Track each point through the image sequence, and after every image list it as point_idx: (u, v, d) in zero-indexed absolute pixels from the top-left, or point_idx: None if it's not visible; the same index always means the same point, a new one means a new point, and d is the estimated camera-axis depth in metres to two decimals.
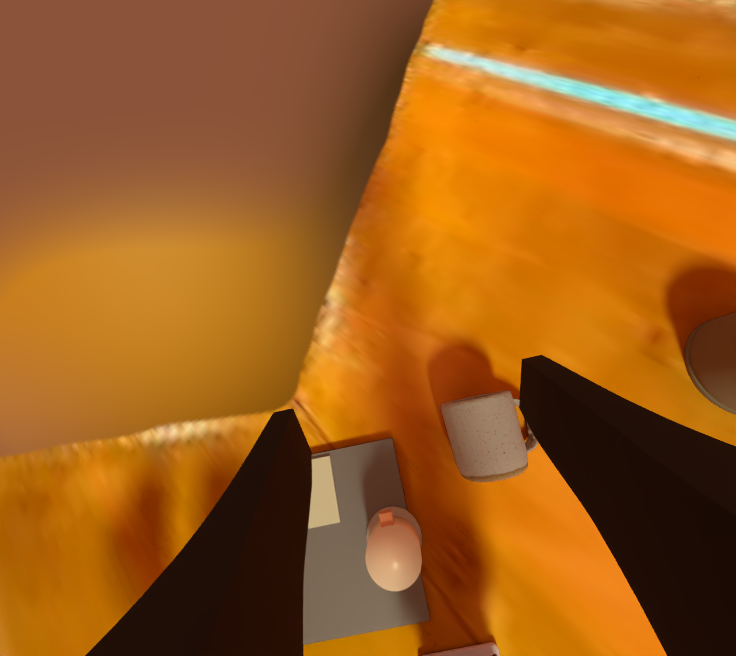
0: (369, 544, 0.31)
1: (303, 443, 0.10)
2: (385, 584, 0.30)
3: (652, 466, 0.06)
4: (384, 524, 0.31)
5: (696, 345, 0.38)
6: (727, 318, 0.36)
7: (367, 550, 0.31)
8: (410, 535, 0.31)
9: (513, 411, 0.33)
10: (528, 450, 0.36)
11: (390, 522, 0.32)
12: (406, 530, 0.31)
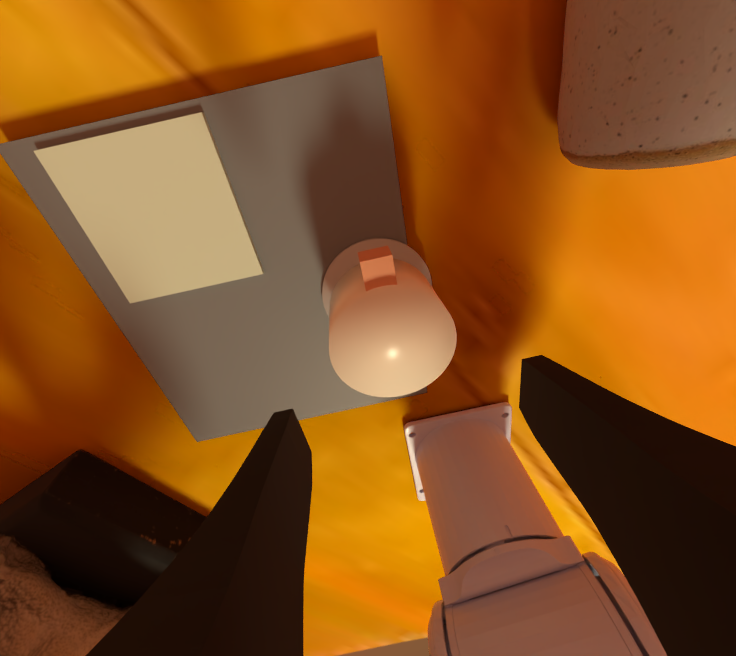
0: (337, 327, 0.13)
1: (303, 443, 0.10)
2: (374, 389, 0.14)
3: (653, 466, 0.06)
4: (373, 283, 0.12)
5: None
6: None
7: (333, 339, 0.13)
8: (438, 304, 0.13)
9: None
10: None
11: (390, 278, 0.12)
12: (428, 294, 0.12)
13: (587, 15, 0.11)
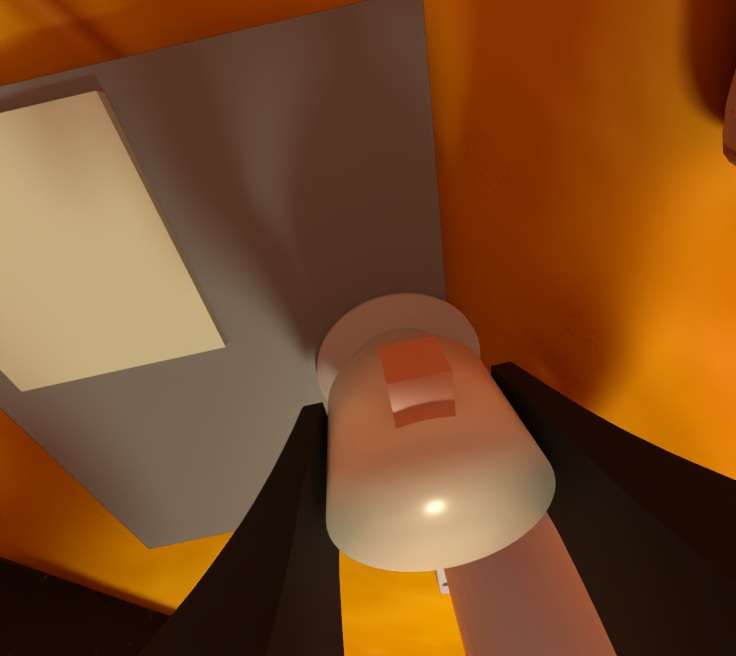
0: (342, 493, 0.07)
1: None
2: (403, 564, 0.08)
3: (601, 477, 0.06)
4: (411, 417, 0.06)
5: None
6: None
7: (333, 508, 0.07)
8: (531, 450, 0.07)
9: None
10: None
11: (443, 406, 0.06)
12: (513, 431, 0.07)
13: None
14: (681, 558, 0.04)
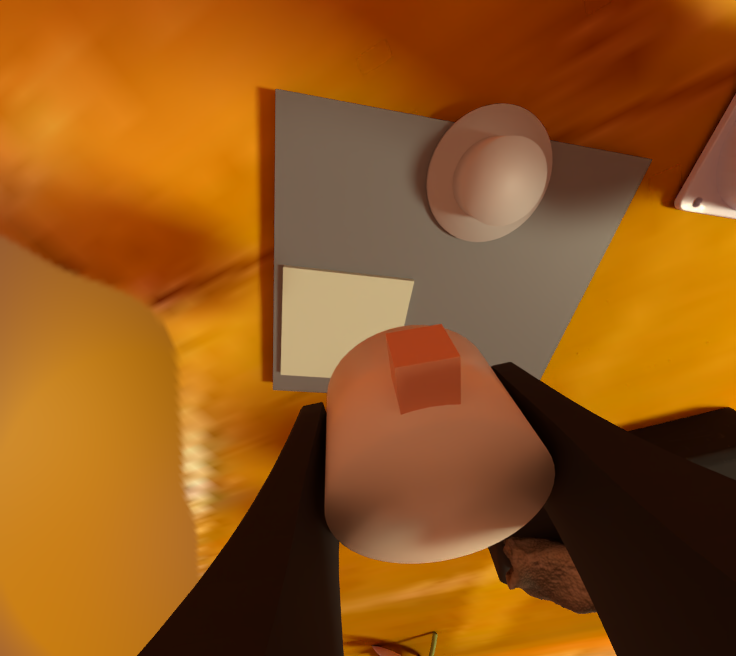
0: (343, 478, 0.07)
1: None
2: (398, 555, 0.08)
3: (600, 476, 0.06)
4: (416, 403, 0.06)
5: None
6: None
7: (333, 493, 0.07)
8: (534, 442, 0.07)
9: None
10: None
11: (449, 394, 0.06)
12: (516, 422, 0.07)
13: None
14: (681, 558, 0.04)
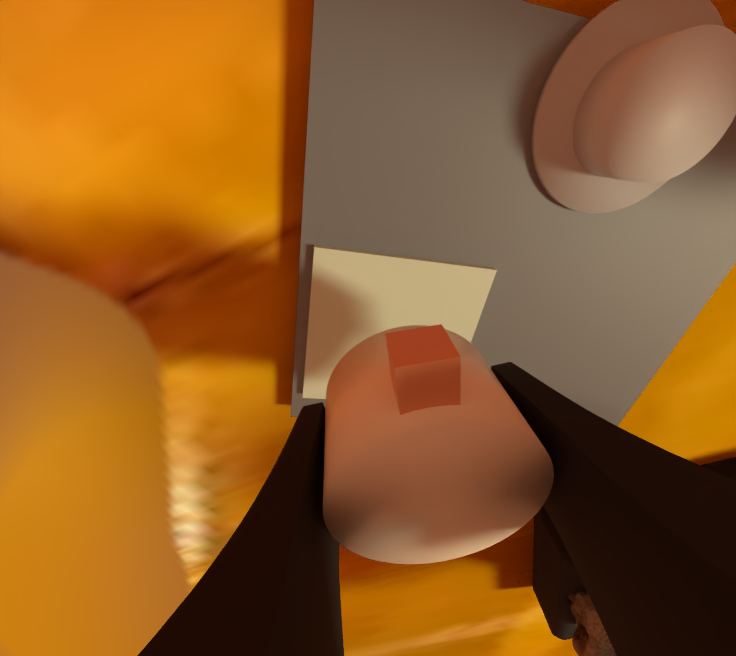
0: (341, 478, 0.07)
1: None
2: (396, 555, 0.08)
3: (601, 477, 0.06)
4: (416, 403, 0.06)
5: None
6: None
7: (331, 493, 0.07)
8: (533, 443, 0.07)
9: None
10: None
11: (449, 394, 0.06)
12: (516, 423, 0.07)
13: None
14: (681, 558, 0.04)
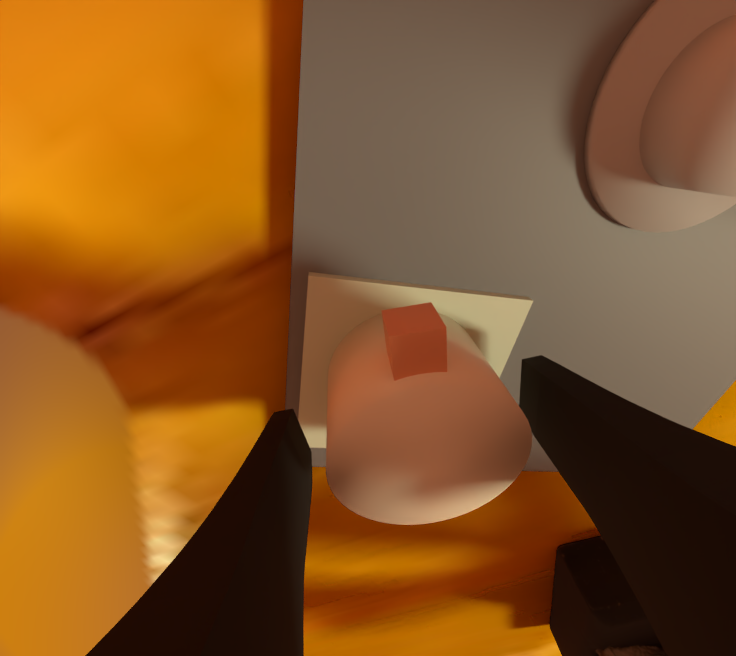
0: (342, 437, 0.07)
1: (303, 443, 0.10)
2: (392, 515, 0.09)
3: (652, 466, 0.06)
4: (408, 370, 0.07)
5: None
6: None
7: (334, 452, 0.08)
8: (512, 406, 0.08)
9: None
10: None
11: (437, 361, 0.07)
12: (496, 388, 0.08)
13: None
14: None
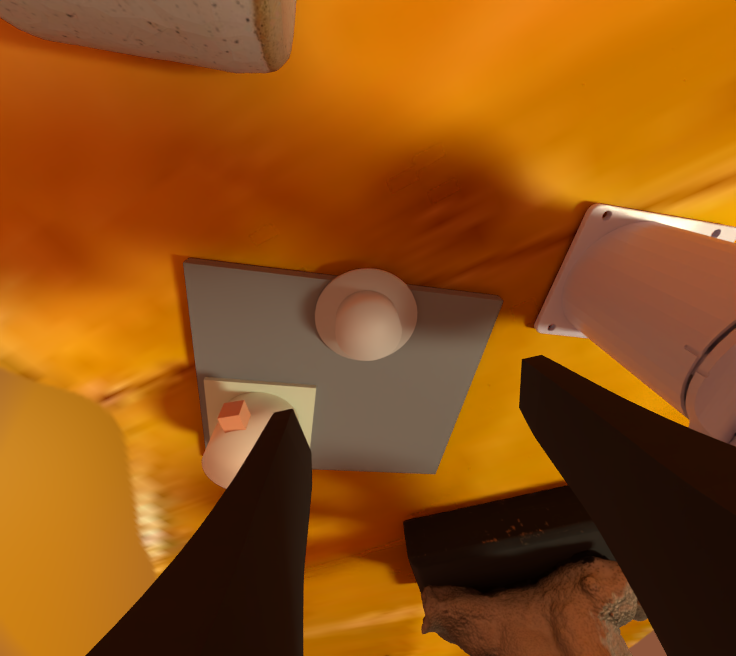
0: (206, 455, 0.19)
1: (303, 443, 0.10)
2: None
3: (653, 466, 0.06)
4: (229, 429, 0.18)
5: None
6: None
7: (204, 461, 0.19)
8: None
9: None
10: None
11: (240, 426, 0.18)
12: None
13: (136, 54, 0.11)
14: None
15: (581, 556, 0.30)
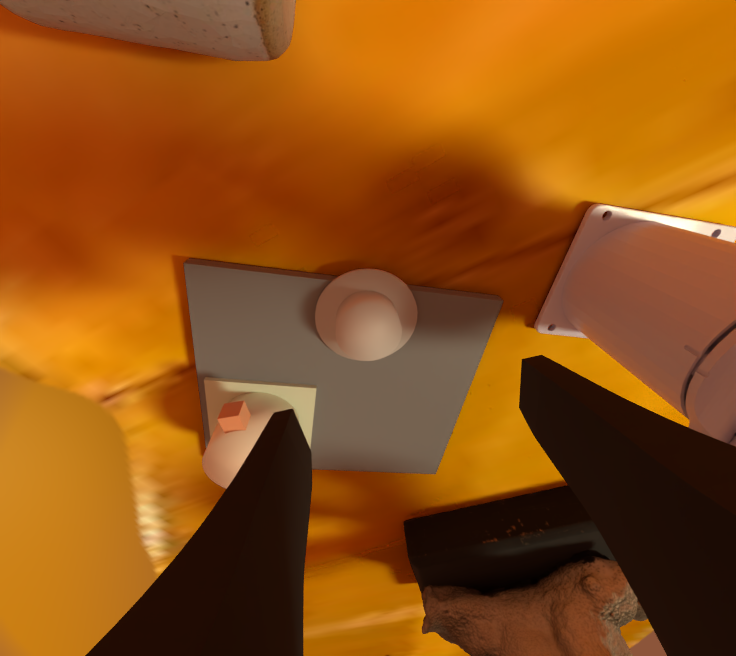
0: (206, 455, 0.19)
1: (303, 443, 0.10)
2: None
3: (653, 466, 0.06)
4: (229, 430, 0.19)
5: None
6: None
7: (204, 461, 0.19)
8: None
9: None
10: None
11: (240, 427, 0.18)
12: None
13: (134, 40, 0.11)
14: None
15: (582, 556, 0.30)
